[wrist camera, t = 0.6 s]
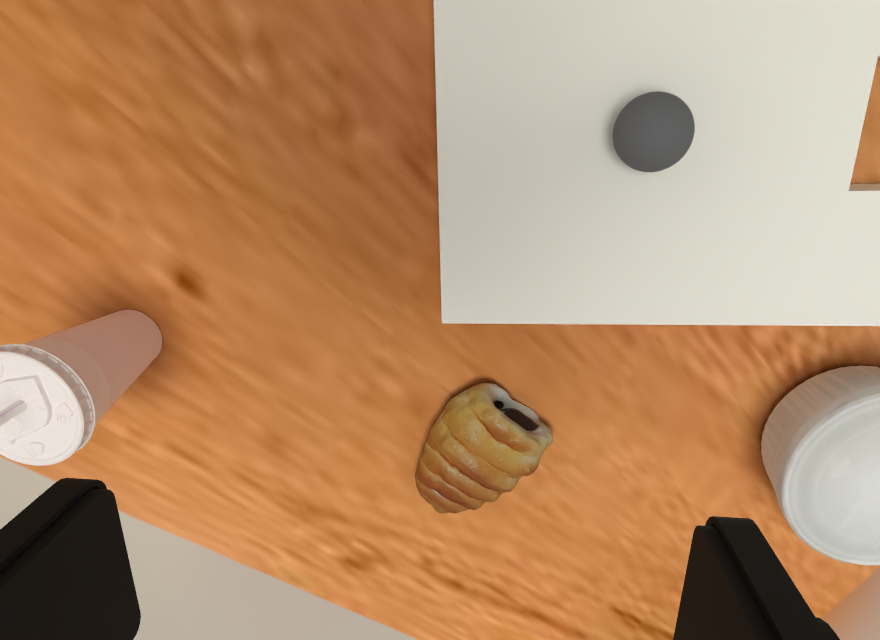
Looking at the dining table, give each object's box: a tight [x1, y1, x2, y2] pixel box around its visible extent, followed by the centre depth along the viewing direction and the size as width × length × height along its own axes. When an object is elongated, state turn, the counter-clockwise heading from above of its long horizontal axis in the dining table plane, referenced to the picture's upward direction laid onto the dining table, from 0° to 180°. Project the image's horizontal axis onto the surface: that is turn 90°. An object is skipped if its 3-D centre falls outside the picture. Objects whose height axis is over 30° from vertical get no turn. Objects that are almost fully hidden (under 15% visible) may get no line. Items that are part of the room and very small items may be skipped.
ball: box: [613, 91, 695, 172], centre depth 26 cm, size 4×4×4 cm
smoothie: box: [0, 309, 162, 466], centre depth 31 cm, size 6×6×14 cm
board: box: [434, 0, 880, 326], centre depth 29 cm, size 32×20×2 cm, turn 91°
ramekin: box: [761, 366, 880, 565], centre depth 33 cm, size 11×11×5 cm
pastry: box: [415, 383, 553, 513], centre depth 36 cm, size 9×7×4 cm
